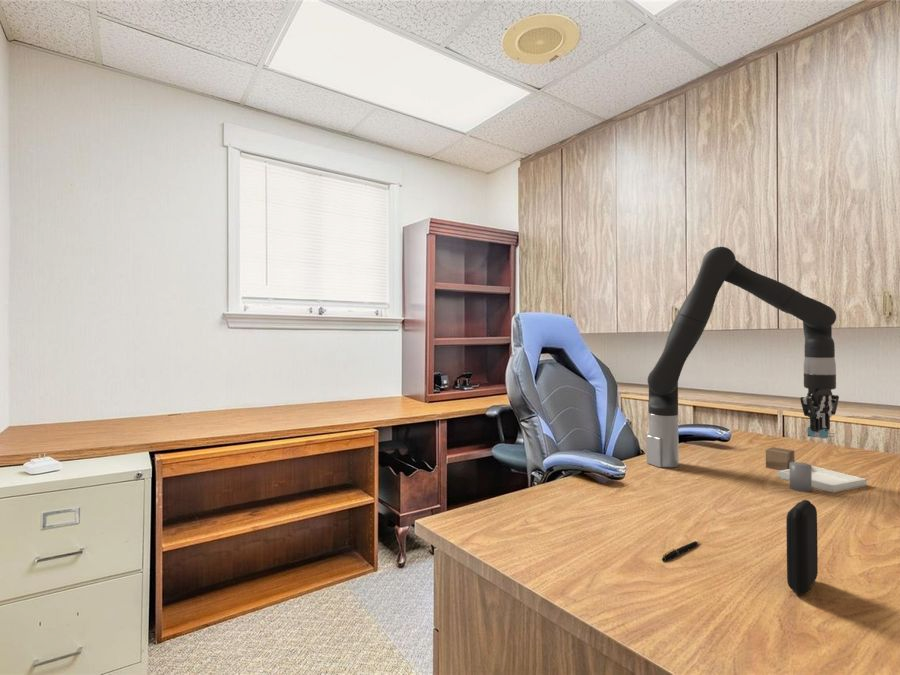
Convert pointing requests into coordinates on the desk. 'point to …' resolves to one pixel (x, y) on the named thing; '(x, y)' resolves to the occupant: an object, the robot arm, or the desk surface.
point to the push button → (823, 430)
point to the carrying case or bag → (802, 547)
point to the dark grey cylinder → (800, 476)
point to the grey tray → (829, 480)
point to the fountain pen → (678, 551)
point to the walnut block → (779, 458)
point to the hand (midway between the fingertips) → (820, 429)
